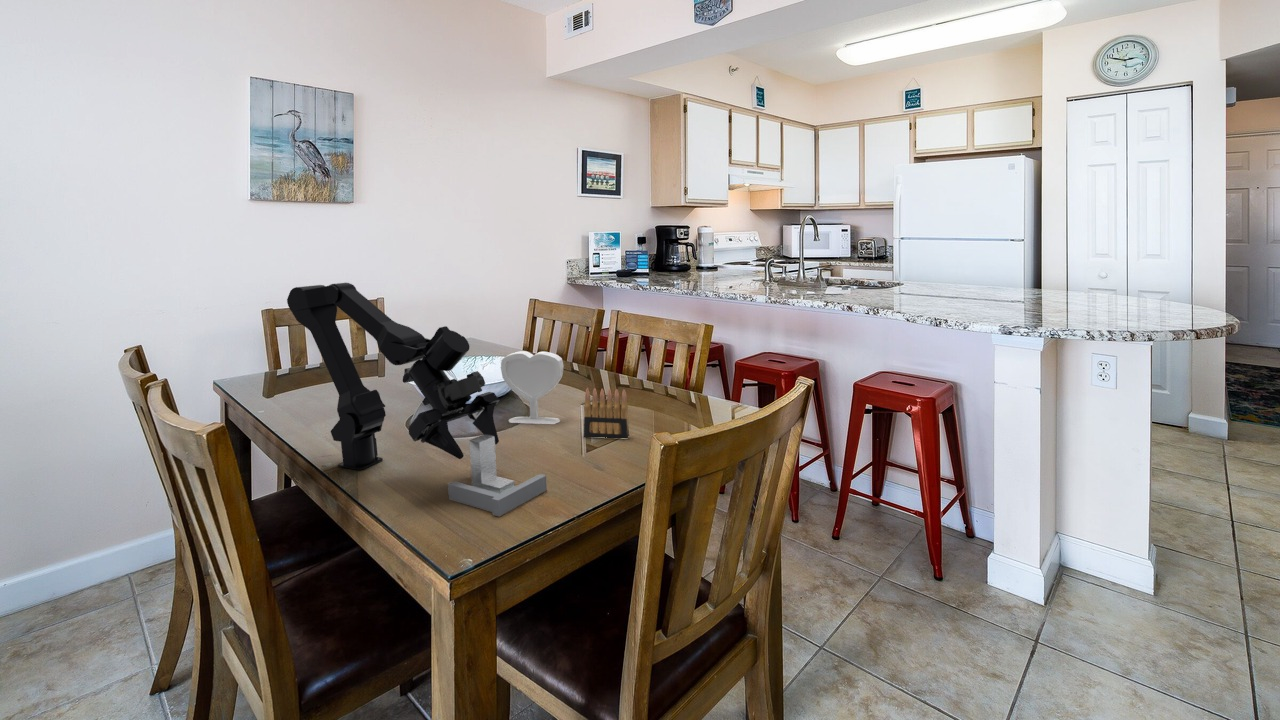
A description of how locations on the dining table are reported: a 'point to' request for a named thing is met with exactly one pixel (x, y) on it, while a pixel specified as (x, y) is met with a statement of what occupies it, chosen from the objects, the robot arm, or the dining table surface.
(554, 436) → the dining table surface
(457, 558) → the dining table surface
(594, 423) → the ammunition clip
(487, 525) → the dining table surface
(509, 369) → the heart sculpture
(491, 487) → the white l-shaped block
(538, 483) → the corner bracket
